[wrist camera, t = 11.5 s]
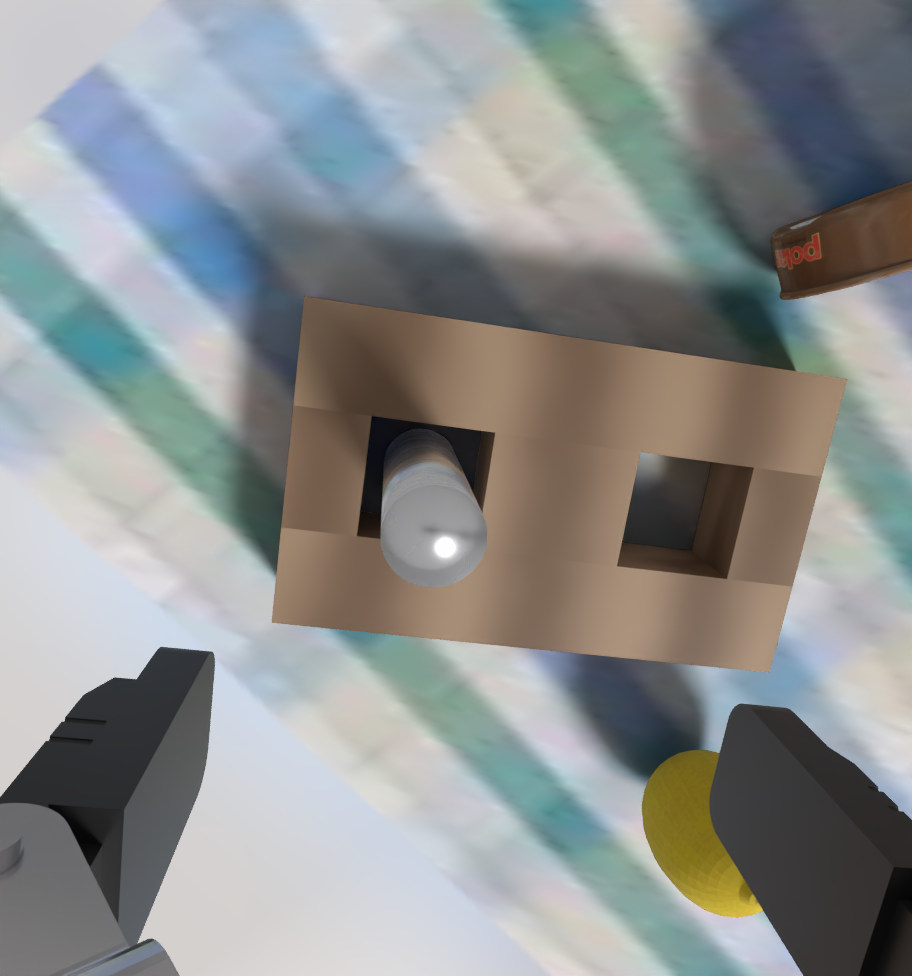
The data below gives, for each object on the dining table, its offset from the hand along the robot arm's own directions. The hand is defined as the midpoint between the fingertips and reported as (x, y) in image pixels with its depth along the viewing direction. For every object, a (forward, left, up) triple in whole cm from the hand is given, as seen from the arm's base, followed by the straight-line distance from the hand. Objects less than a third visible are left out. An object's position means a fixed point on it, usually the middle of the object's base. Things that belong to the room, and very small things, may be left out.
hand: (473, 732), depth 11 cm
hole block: (-5, 0, -20) cm, 20 cm away
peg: (0, 0, -20) cm, 20 cm away
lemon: (-14, +13, -20) cm, 28 cm away
